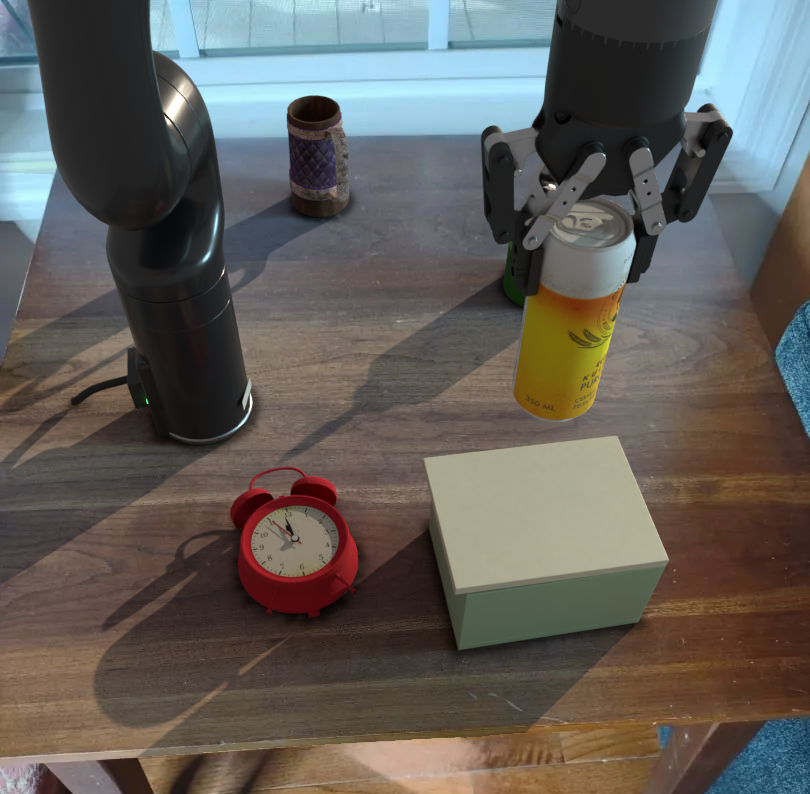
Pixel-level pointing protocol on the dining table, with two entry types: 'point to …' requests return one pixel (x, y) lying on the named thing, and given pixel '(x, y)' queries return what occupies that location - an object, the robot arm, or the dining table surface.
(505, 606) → the chest
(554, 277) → the beer can
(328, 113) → the mug
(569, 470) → the lid
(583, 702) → the dining table surface
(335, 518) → the alarm clock
